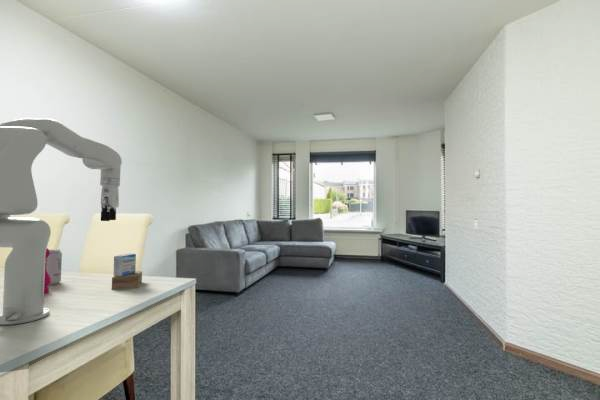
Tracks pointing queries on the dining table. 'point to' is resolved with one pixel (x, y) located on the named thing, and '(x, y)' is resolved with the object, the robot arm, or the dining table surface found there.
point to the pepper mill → (46, 274)
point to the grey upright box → (54, 266)
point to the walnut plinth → (127, 281)
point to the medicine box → (124, 264)
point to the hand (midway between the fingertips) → (108, 220)
